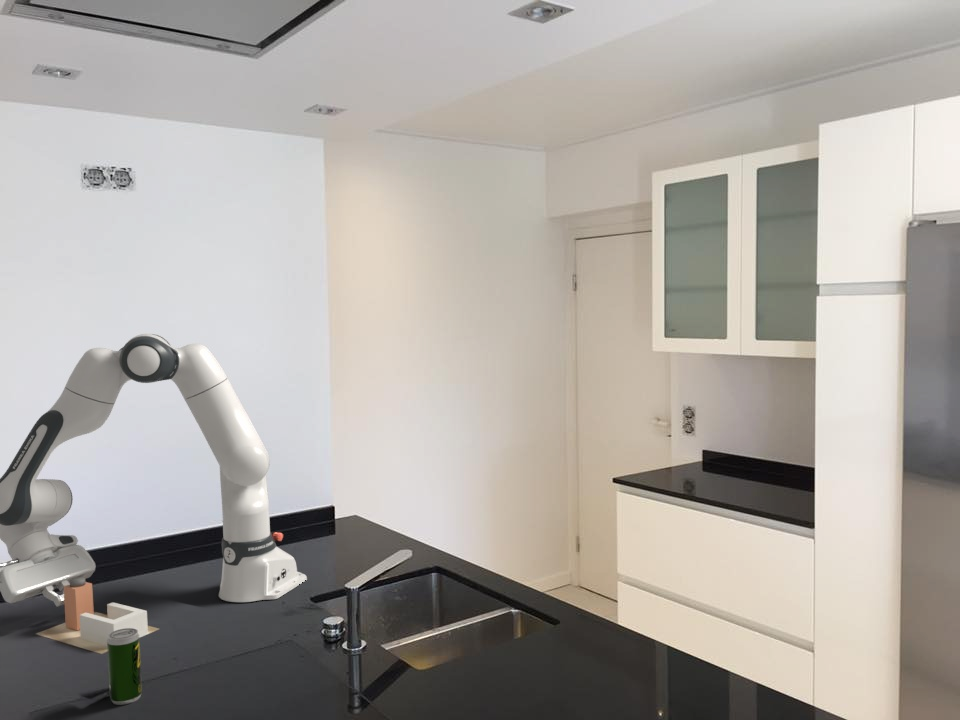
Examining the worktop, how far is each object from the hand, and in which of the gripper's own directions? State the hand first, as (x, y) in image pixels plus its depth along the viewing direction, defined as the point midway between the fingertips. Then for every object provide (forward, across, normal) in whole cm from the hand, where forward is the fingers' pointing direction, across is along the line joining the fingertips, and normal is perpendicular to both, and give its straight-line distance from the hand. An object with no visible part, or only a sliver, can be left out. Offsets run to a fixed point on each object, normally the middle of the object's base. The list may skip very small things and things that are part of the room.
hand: (64, 603), depth 179 cm
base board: (+12, 0, -4) cm, 13 cm away
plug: (+7, 0, -1) cm, 7 cm away
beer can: (+33, -15, -24) cm, 43 cm away
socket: (+14, 0, -8) cm, 17 cm away
